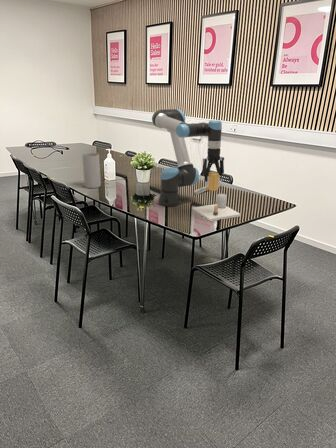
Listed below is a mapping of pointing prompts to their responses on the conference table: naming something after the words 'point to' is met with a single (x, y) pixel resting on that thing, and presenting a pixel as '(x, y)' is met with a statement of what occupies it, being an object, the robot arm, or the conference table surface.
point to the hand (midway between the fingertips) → (212, 185)
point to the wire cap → (213, 181)
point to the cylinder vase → (91, 170)
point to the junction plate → (210, 211)
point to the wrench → (203, 189)
